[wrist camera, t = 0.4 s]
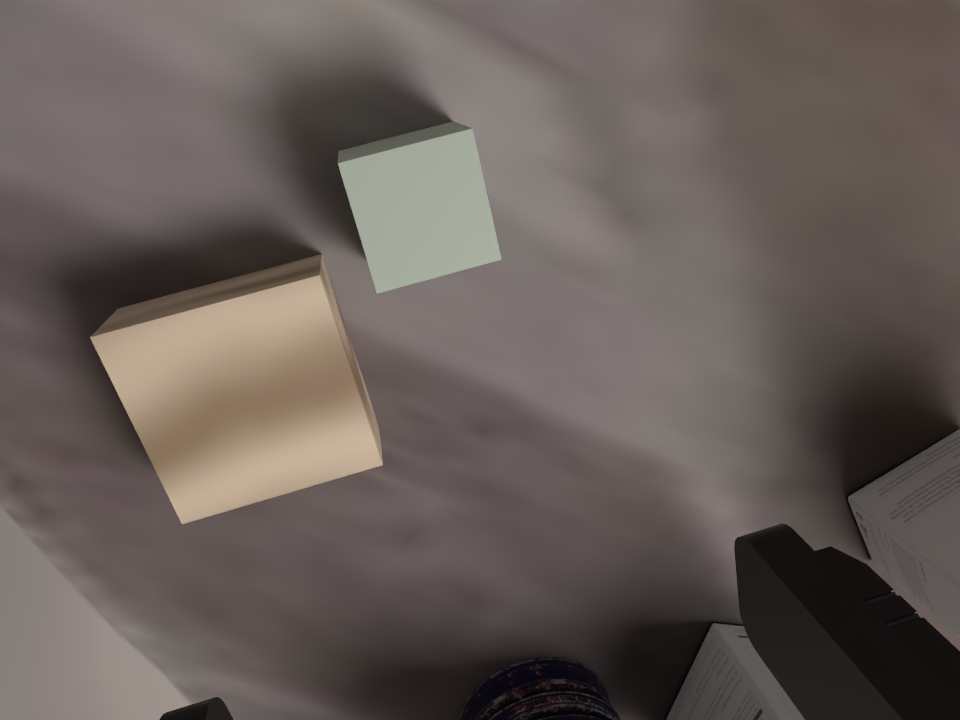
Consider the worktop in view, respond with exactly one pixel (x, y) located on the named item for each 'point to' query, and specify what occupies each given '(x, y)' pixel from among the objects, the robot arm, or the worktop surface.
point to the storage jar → (540, 693)
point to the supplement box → (731, 682)
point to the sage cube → (420, 205)
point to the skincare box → (918, 527)
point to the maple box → (243, 387)
